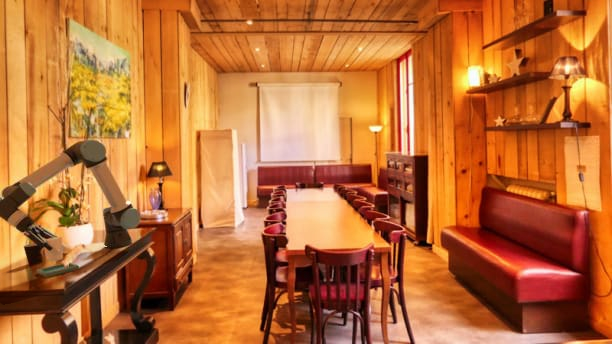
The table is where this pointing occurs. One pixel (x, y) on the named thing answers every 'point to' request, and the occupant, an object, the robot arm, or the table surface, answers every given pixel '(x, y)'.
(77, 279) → the table surface
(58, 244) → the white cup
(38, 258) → the coffee mug
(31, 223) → the robot arm
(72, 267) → the tray
